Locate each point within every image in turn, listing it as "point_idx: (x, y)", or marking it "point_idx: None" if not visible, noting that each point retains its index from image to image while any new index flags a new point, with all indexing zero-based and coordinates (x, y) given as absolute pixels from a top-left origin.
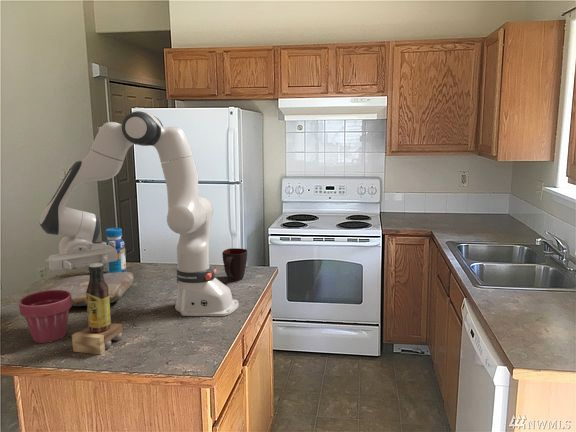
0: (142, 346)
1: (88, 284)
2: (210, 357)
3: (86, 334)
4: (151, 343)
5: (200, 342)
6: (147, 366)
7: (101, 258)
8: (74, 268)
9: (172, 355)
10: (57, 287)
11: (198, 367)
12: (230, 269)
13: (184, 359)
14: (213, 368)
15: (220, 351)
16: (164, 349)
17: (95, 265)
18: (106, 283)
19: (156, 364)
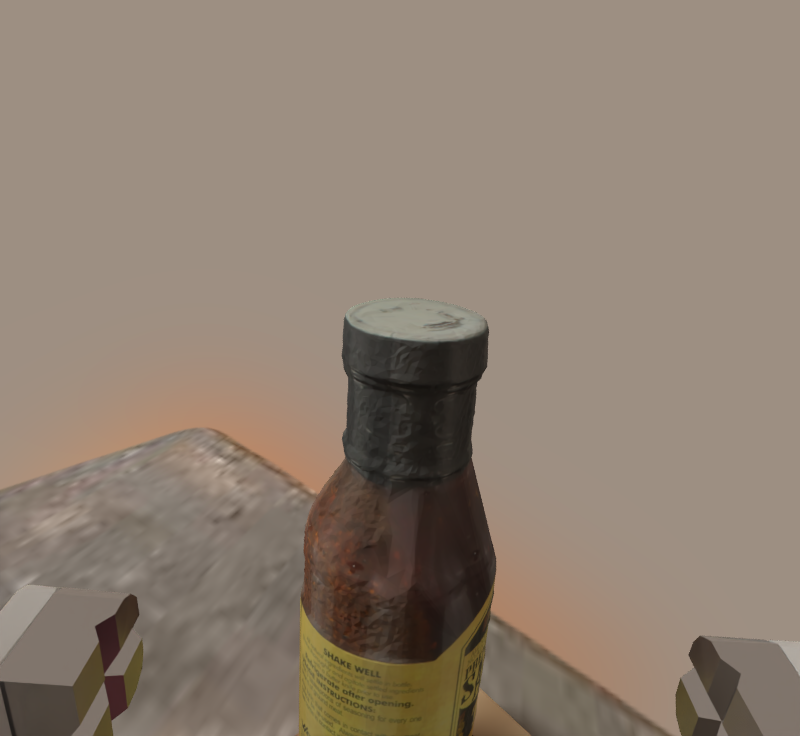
0: (213, 670)
1: (480, 496)
2: (113, 475)
3: (486, 727)
4: (158, 673)
5: (16, 561)
6: (301, 528)
7: (97, 635)
8: (683, 711)
9: (184, 540)
10: None
11: (190, 458)
12: None
13: (179, 503)
14: (166, 439)
15: (53, 483)
16: (166, 591)
17: (425, 311)
18: (325, 484)
19: (270, 523)
